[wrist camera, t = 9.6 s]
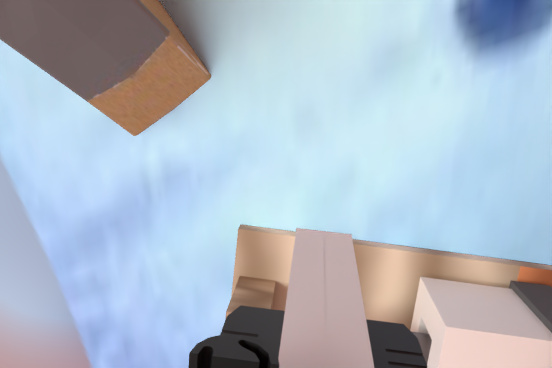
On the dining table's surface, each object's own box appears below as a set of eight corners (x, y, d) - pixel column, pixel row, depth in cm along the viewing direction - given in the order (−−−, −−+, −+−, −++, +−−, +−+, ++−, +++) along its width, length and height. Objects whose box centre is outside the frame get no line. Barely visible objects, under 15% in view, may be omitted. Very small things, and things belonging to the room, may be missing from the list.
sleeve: (403, 368, 41) (423, 436, 34) (420, 276, 40) (446, 326, 32) (490, 380, 41) (531, 453, 33) (511, 288, 39) (560, 342, 32)
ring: (487, 382, 42) (532, 465, 33) (510, 280, 40) (566, 339, 31) (524, 388, 42) (580, 472, 33) (549, 285, 40) (616, 346, 31)
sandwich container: (133, 141, 42) (36, 177, 27) (11, -18, 40) (-165, -71, 25) (216, 77, 40) (159, 80, 26) (92, -92, 38) (-45, -193, 24)
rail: (228, 343, 45) (210, 398, 37) (240, 224, 42) (224, 257, 35) (576, 393, 43) (631, 461, 36) (609, 273, 41) (676, 318, 33)
